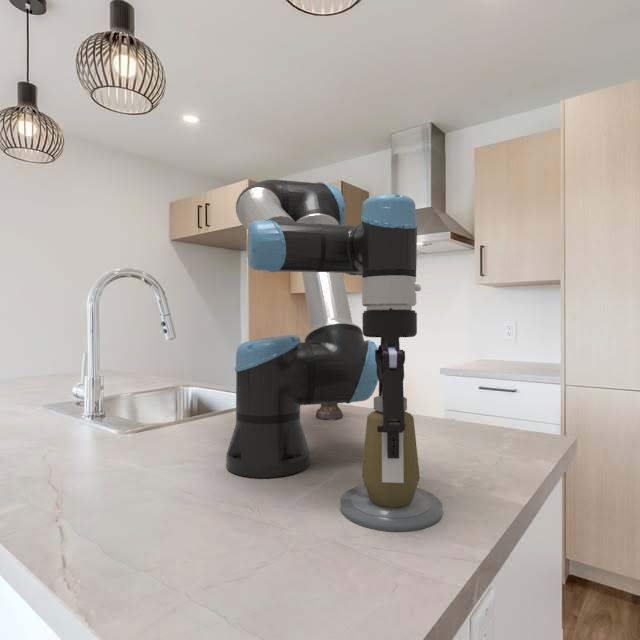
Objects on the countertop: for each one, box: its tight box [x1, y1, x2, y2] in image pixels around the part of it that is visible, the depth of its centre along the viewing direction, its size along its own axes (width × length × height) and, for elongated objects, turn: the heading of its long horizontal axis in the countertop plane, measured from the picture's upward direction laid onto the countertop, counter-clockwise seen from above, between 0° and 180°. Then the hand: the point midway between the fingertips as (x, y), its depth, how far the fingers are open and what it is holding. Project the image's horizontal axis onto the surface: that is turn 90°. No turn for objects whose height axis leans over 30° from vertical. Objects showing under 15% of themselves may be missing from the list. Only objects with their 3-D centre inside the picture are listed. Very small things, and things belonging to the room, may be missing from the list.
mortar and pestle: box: [315, 403, 344, 421], centre depth 125 cm, size 12×9×20 cm
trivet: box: [339, 484, 443, 533], centre depth 64 cm, size 14×14×1 cm
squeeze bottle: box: [361, 393, 421, 507], centre depth 64 cm, size 8×8×18 cm
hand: (390, 468), depth 64 cm, fingers open, 9 cm apart
